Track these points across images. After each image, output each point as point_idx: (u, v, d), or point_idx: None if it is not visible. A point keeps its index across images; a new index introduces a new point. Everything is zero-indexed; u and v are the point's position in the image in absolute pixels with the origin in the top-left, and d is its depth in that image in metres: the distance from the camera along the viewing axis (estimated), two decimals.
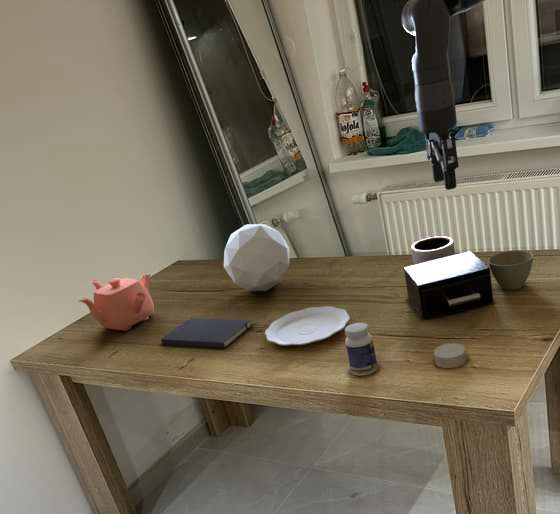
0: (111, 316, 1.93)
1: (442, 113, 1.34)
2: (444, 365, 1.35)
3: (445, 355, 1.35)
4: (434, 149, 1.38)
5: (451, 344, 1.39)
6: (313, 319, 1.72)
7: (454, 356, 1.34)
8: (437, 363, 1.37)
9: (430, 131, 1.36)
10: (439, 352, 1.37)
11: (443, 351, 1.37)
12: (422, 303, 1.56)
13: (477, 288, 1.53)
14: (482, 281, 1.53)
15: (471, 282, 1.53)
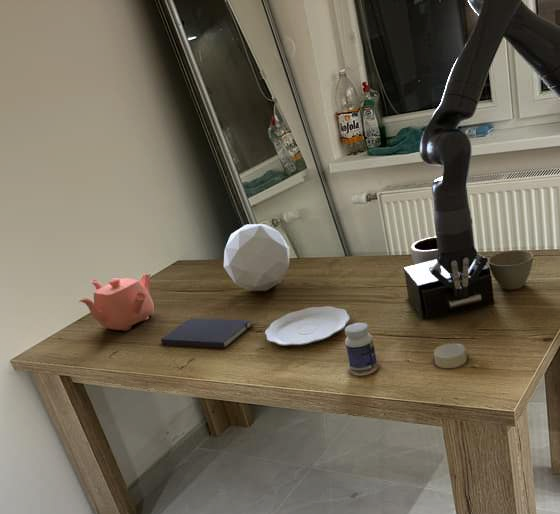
0: (111, 316, 1.93)
1: None
2: (444, 365, 1.35)
3: (445, 355, 1.35)
4: (465, 265, 1.45)
5: (451, 344, 1.39)
6: (313, 319, 1.72)
7: (454, 356, 1.34)
8: (437, 363, 1.37)
9: (472, 246, 1.43)
10: (439, 352, 1.37)
11: (443, 351, 1.37)
12: (422, 303, 1.56)
13: (478, 289, 1.53)
14: (483, 282, 1.52)
15: (472, 283, 1.52)
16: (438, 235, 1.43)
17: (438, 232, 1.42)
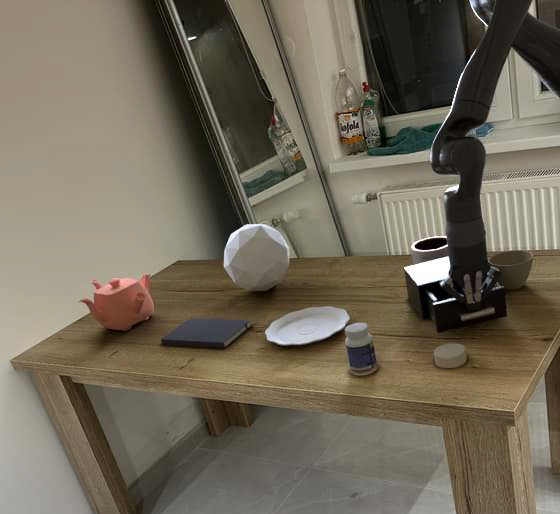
0: (111, 316, 1.93)
1: None
2: (444, 365, 1.35)
3: (445, 355, 1.35)
4: (478, 279, 1.38)
5: (451, 344, 1.39)
6: (313, 319, 1.72)
7: (454, 356, 1.34)
8: (437, 363, 1.37)
9: (485, 259, 1.36)
10: (439, 352, 1.37)
11: (443, 351, 1.37)
12: (422, 303, 1.56)
13: (491, 301, 1.45)
14: (496, 294, 1.45)
15: None
16: (450, 248, 1.36)
17: (450, 245, 1.35)
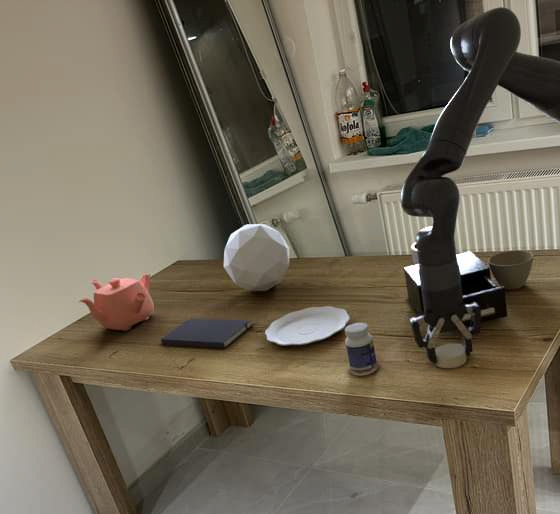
0: (111, 316, 1.93)
1: None
2: (444, 365, 1.35)
3: (445, 355, 1.35)
4: (457, 321, 1.32)
5: (451, 344, 1.39)
6: (313, 319, 1.72)
7: (454, 356, 1.34)
8: (437, 363, 1.37)
9: (461, 302, 1.30)
10: (439, 352, 1.37)
11: (443, 351, 1.37)
12: (422, 303, 1.56)
13: (491, 301, 1.45)
14: (496, 294, 1.45)
15: (485, 295, 1.45)
16: (423, 291, 1.30)
17: (423, 288, 1.29)
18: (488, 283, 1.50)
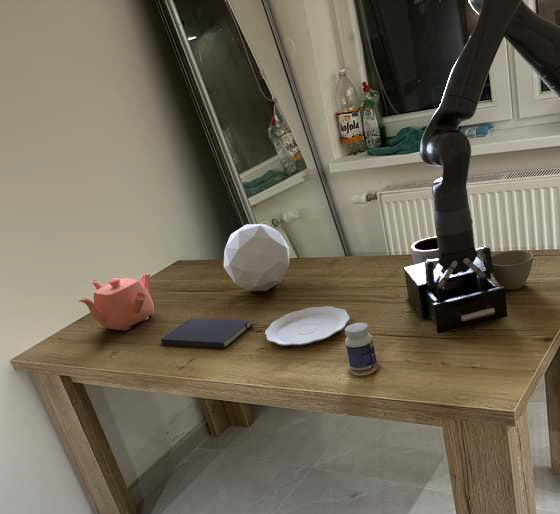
0: (111, 316, 1.93)
1: None
2: None
3: None
4: (469, 263, 1.45)
5: (464, 295, 1.53)
6: (313, 319, 1.72)
7: None
8: None
9: (472, 246, 1.43)
10: None
11: None
12: (422, 303, 1.56)
13: (491, 301, 1.45)
14: (496, 295, 1.45)
15: (485, 295, 1.44)
16: (438, 236, 1.43)
17: (438, 233, 1.43)
18: (488, 283, 1.50)
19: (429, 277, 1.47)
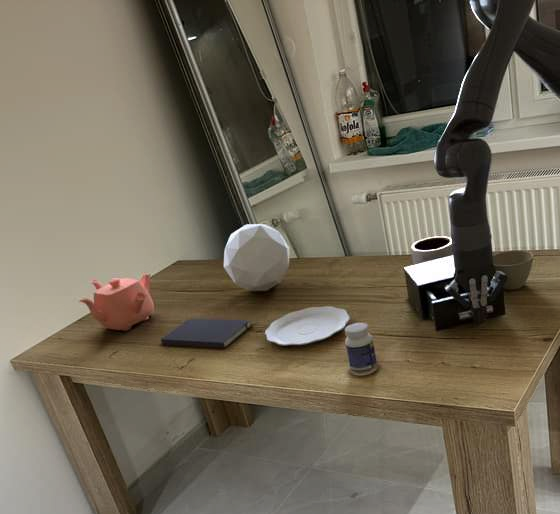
0: (111, 316, 1.93)
1: None
2: None
3: None
4: (484, 283, 1.36)
5: None
6: (313, 319, 1.72)
7: None
8: None
9: (491, 263, 1.34)
10: None
11: None
12: (422, 303, 1.56)
13: None
14: None
15: None
16: (455, 252, 1.34)
17: (455, 248, 1.33)
18: None
19: (459, 300, 1.38)
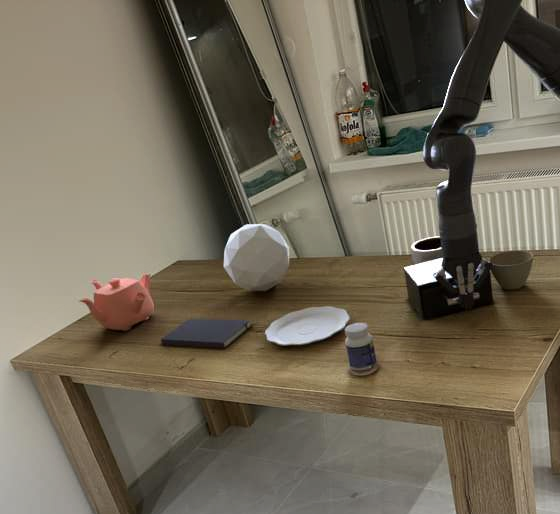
0: (111, 316, 1.93)
1: None
2: None
3: None
4: (470, 270, 1.44)
5: None
6: (313, 319, 1.72)
7: None
8: None
9: (477, 251, 1.41)
10: None
11: None
12: (422, 303, 1.56)
13: None
14: None
15: None
16: (442, 240, 1.41)
17: (442, 237, 1.41)
18: None
19: (446, 287, 1.45)
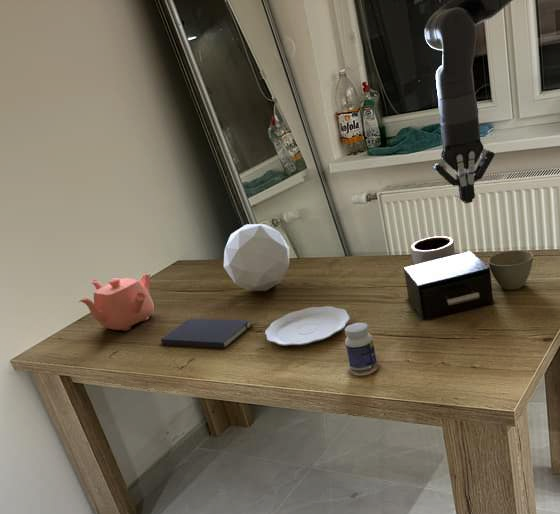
0: (111, 316, 1.93)
1: None
2: None
3: None
4: (471, 159, 1.39)
5: None
6: (313, 319, 1.72)
7: None
8: None
9: (478, 138, 1.37)
10: None
11: None
12: (422, 303, 1.56)
13: (476, 287, 1.54)
14: (481, 280, 1.53)
15: (470, 281, 1.53)
16: (443, 127, 1.37)
17: (443, 123, 1.36)
18: None
19: (447, 178, 1.41)
